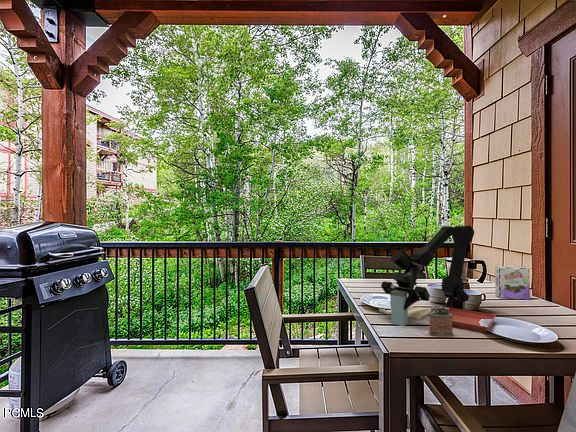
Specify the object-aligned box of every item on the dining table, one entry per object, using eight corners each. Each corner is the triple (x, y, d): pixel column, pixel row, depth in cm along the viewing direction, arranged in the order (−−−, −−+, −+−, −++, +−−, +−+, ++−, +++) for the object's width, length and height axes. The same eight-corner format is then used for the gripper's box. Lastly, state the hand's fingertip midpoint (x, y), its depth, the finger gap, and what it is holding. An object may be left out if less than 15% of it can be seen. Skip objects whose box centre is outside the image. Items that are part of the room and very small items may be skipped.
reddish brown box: (450, 333, 112) (450, 305, 112) (454, 336, 109) (454, 308, 109) (427, 332, 113) (427, 305, 113) (431, 336, 109) (430, 308, 109)
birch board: (432, 312, 137) (432, 310, 138) (418, 320, 126) (418, 318, 126) (394, 304, 150) (394, 302, 150) (378, 311, 139) (378, 309, 139)
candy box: (499, 298, 161) (498, 267, 161) (495, 295, 167) (494, 265, 167) (530, 300, 157) (529, 268, 157) (525, 297, 163) (524, 266, 163)
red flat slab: (489, 336, 110) (489, 326, 110) (435, 325, 122) (435, 316, 122) (496, 323, 124) (496, 314, 124) (447, 314, 135) (447, 306, 135)
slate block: (407, 324, 122) (407, 291, 122) (403, 326, 119) (402, 293, 120) (395, 321, 126) (395, 289, 126) (391, 323, 123) (390, 291, 123)
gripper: (382, 262, 132) (369, 292, 125) (426, 266, 119) (414, 300, 111) (391, 278, 138) (379, 307, 130) (434, 284, 124) (423, 317, 116)
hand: (397, 307), depth 122 cm, fingers closed on slate block, 5 cm apart
